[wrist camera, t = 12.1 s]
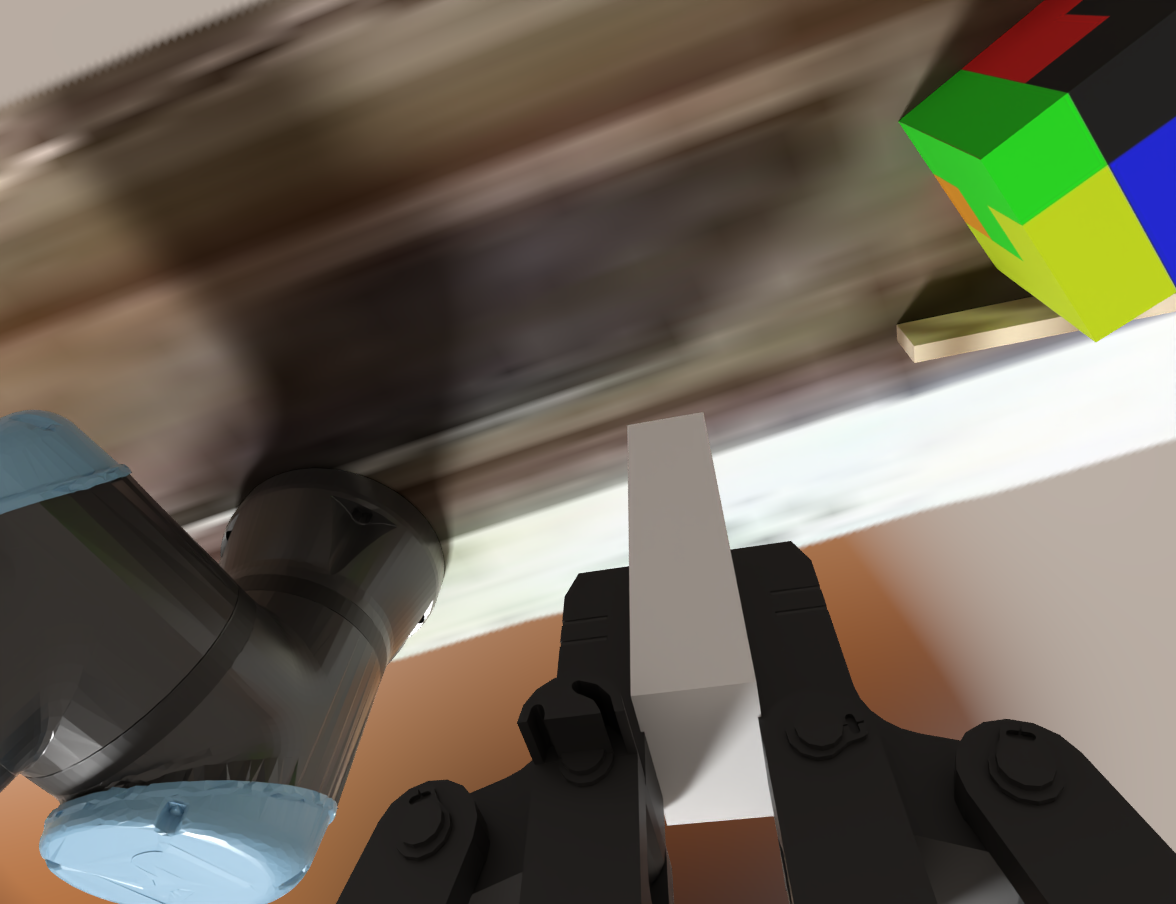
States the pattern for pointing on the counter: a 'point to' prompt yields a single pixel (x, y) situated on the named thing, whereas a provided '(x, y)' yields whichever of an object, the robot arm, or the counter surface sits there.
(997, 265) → the puzzle toy
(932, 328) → the tray
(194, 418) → the counter surface
